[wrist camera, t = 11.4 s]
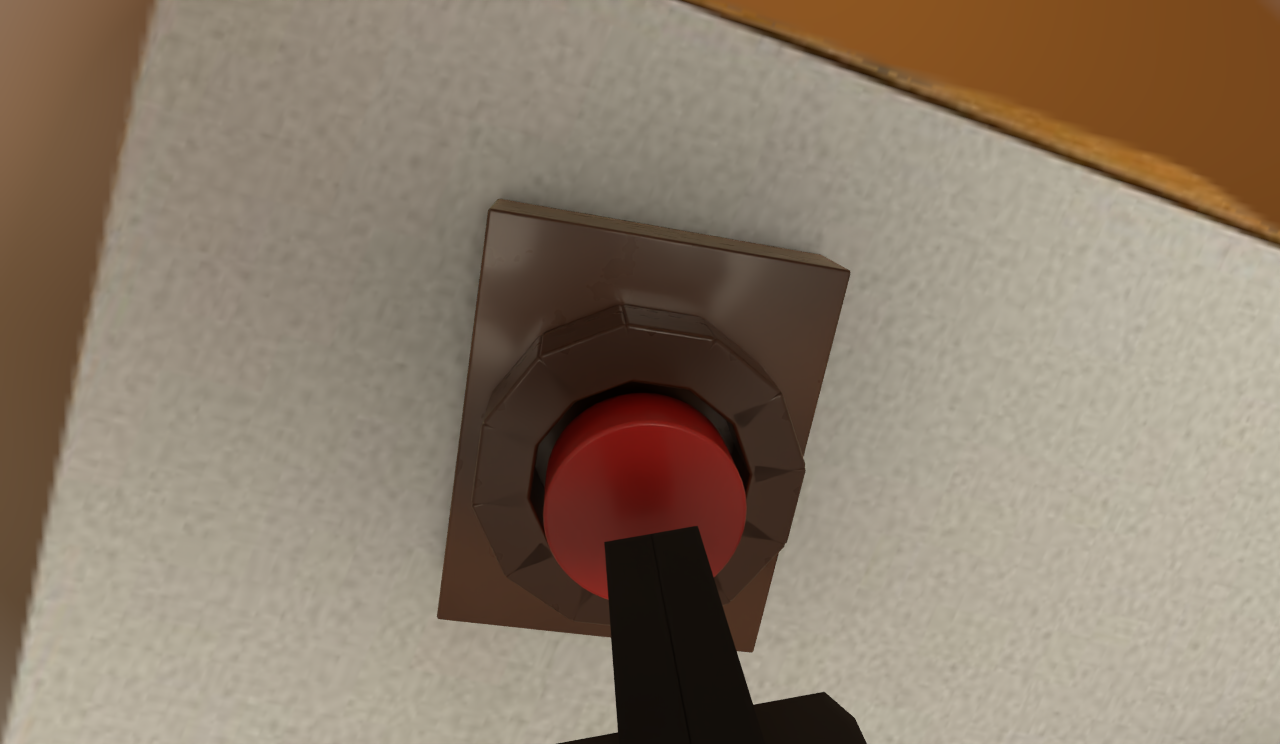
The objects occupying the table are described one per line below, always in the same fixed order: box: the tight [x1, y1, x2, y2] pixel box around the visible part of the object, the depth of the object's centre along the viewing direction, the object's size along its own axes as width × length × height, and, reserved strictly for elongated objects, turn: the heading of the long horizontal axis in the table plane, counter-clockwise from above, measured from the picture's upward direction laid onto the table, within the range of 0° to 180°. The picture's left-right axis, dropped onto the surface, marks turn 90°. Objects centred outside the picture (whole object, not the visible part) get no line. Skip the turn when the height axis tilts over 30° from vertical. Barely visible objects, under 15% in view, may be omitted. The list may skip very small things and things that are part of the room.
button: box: [543, 393, 747, 599], centre depth 17 cm, size 4×4×2 cm
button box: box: [437, 199, 850, 652], centre depth 19 cm, size 10×8×4 cm
